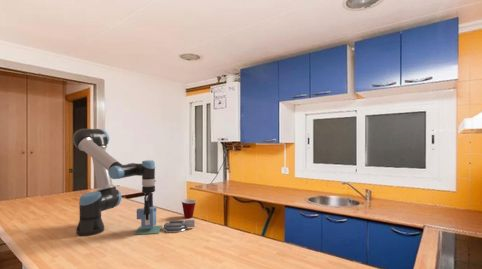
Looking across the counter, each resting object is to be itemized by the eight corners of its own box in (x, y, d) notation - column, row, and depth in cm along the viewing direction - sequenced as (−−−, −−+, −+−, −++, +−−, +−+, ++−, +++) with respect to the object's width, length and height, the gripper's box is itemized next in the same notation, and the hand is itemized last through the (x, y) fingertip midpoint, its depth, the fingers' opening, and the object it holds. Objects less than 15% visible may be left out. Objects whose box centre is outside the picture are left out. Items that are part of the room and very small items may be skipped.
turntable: (166, 223, 180) (166, 216, 180) (196, 223, 180) (196, 216, 180) (161, 230, 166) (161, 223, 166) (192, 230, 166) (192, 223, 166)
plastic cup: (193, 219, 191) (193, 202, 192) (178, 219, 193) (178, 202, 193) (198, 215, 202) (198, 199, 202) (184, 214, 204) (184, 198, 204)
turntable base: (161, 233, 165) (161, 232, 165) (164, 225, 179) (164, 224, 179) (186, 232, 166) (186, 230, 166) (188, 224, 181) (188, 223, 181)
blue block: (139, 224, 173) (139, 206, 173) (158, 224, 173) (157, 206, 174) (135, 228, 166) (135, 209, 166) (154, 227, 166) (154, 209, 167)
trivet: (134, 235, 162) (134, 234, 162) (139, 227, 176) (139, 226, 176) (158, 233, 164) (158, 232, 164) (162, 226, 178) (162, 225, 178)
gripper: (151, 188, 161) (151, 227, 160) (157, 182, 181) (157, 217, 180) (138, 188, 160) (138, 228, 159) (145, 183, 180) (146, 218, 179)
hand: (148, 222), depth 170 cm, fingers closed on blue block, 7 cm apart
